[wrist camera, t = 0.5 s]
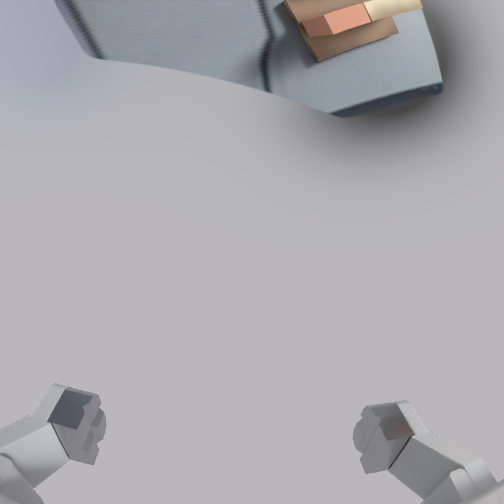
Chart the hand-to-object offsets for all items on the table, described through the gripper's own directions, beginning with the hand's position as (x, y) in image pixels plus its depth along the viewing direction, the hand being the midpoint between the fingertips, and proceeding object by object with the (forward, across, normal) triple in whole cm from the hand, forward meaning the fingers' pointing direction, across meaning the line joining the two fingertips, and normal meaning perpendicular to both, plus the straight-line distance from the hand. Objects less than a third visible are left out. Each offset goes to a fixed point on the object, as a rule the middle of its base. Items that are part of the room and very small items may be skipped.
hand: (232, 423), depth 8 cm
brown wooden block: (+42, -15, -34) cm, 56 cm away
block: (+40, -11, -31) cm, 52 cm away
